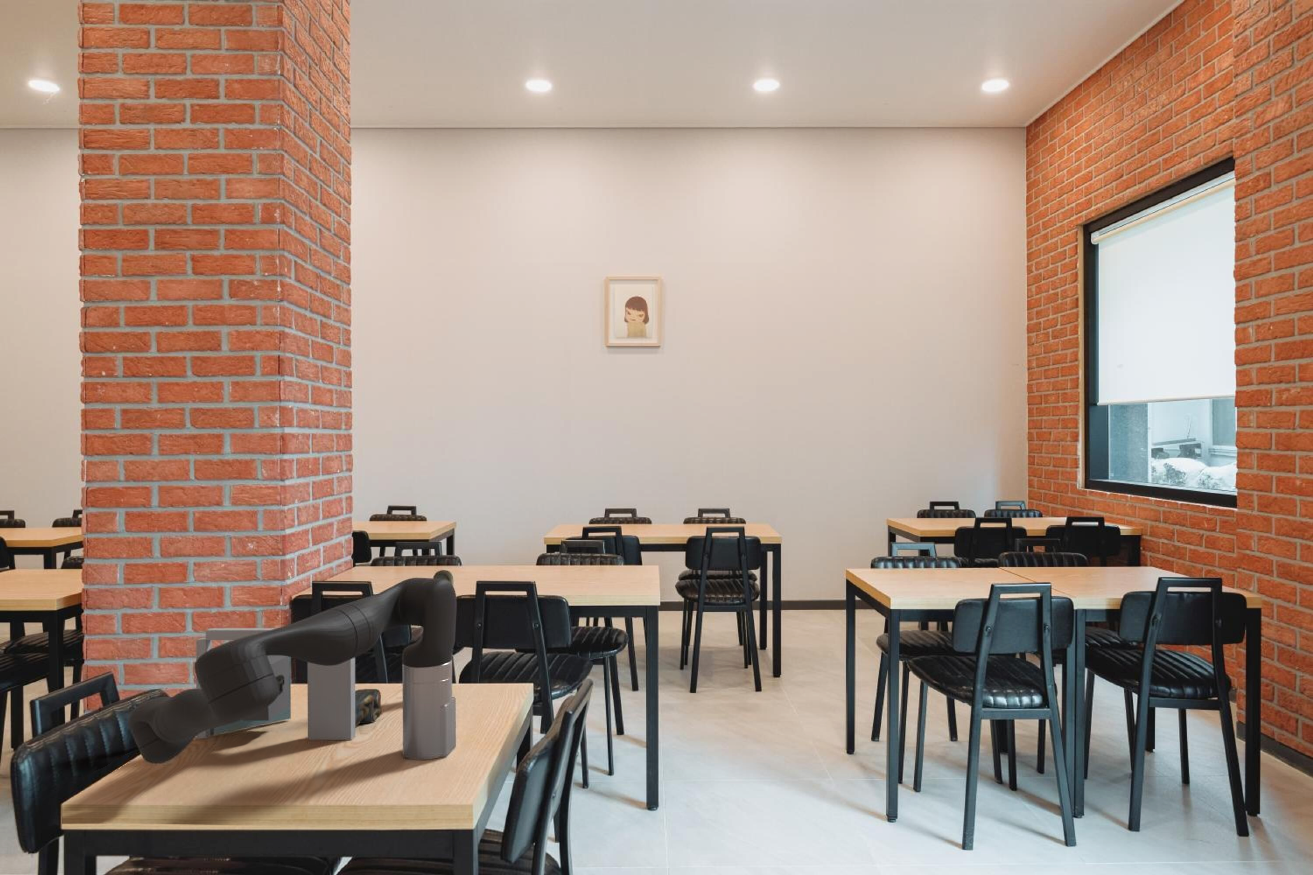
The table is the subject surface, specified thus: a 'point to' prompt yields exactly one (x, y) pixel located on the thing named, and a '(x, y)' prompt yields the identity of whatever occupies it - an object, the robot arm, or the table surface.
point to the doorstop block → (282, 701)
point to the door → (248, 724)
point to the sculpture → (367, 705)
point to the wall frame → (325, 690)
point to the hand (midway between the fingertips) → (267, 679)
